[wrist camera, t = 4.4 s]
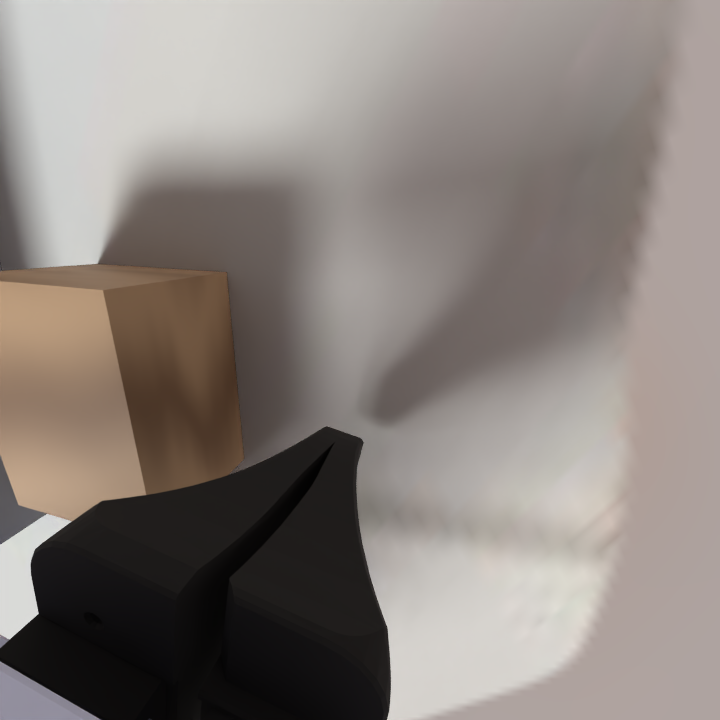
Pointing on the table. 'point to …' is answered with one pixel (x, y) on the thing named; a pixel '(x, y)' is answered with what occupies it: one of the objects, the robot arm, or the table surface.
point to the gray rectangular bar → (12, 508)
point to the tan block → (115, 383)
